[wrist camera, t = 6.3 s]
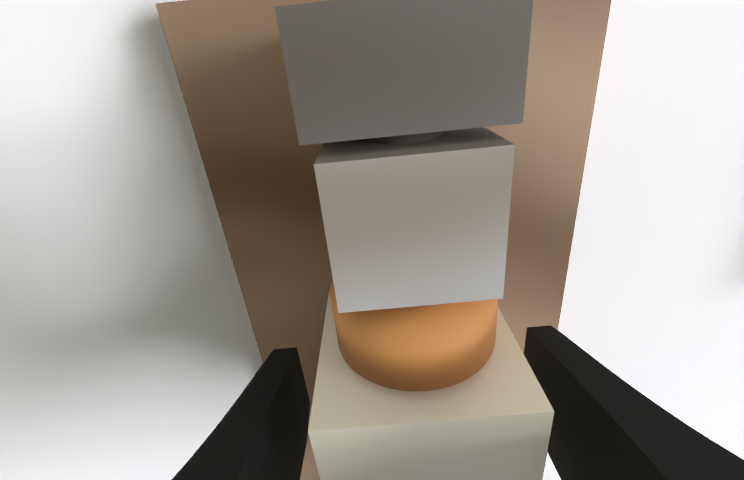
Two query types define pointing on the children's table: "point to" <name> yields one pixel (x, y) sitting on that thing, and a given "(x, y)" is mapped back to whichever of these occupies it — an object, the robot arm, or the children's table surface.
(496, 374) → the sleeve
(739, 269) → the children's table surface
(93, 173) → the children's table surface
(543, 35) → the rod board
